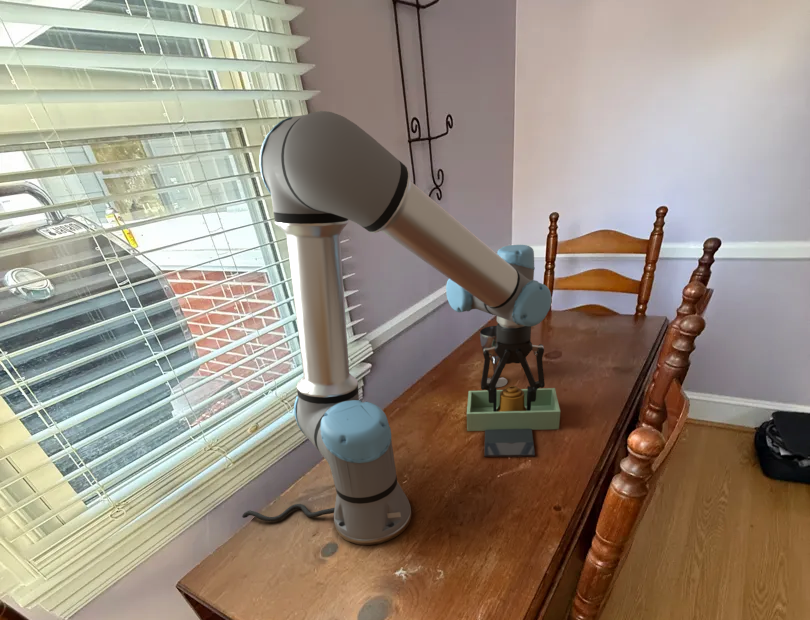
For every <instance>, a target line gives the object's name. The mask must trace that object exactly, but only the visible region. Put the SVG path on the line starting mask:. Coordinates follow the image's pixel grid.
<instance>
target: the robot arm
mask: <svg viewBox="0 0 810 620" xmlns="http://www.w3.org/2000/svg"><path fill="white" fill-rule="evenodd" d="M258 158H259V159H258V161H259V162H258V163H259V171H260V176H261V179H262V182H263V183H264V187H265V188H266V190H267V191H268V193H269V194H270V197H271V204H272V211H273V219H274V224H275V225H276V227H278V228H279V229H280V230H281V231H282V232H283V233H284V235H285V236H286V245H287V253H288V259H289V260H288V261H289V268H290V276H291V285H292V293H293V294H292V295H293V300H294V310H295V316H296V326H297V333H298V341H299V350H300V357H301V366H302V375H303V376H302V377H301V378H300V379H299V380H298V381H297V384H296V393H297V395H296V398H295V400H294V403H293V415H294V419H295V422H296V424H297V426H298V428H299V430H300V431H301V433H302V434H303V435H304V436H305V437H306V438H307V439H308V440H309V442H311V444H312V445H313V446H314V448H316V450H317V451H318V452H319V453H320V454H321V456H322V457H323V459H325V461H326V462H327V464H328V466H329V468H330V471H331V475H332V480H333V484H334V487H335V491H336V497H335V503H334V507H329V508H326V509H320V510H317V511H313V512H311V511H310V510H308V507H307V506H306V505H305V504H302V503H295V504H292V505H291V506H289V507H287V508H286V509H285V510H284V511H283V512H281V513H280V514H277V515H275V516H266V515H264V514H261V513H260V512H258V511H255V510H251V509H250V510H247V511H245V512H244V513H243V514H242V516H241V517H242V518H243V519H245V518H248V517H249V516H252V517H255V518H257V519H259V520H261V521H264V522H268V523H273V522H279V521H281V520H283V519H284V518H285V517H287V516H288V515H289V514H290V513H291V512H293V511H294V510H298V509H299V510H301V511H302V512H303V513H304V515H305V516H306V517H308V518H317V517H320V516H325V515H330V514H333V523H334V527H335V531H336V533H338V535H339V537H341V538H342V539H343V540H345V541H347V542H350V543H351V544H355V545H360V546H361V545H363V546H370V545H379V544H382V543H386V542H388V541H391V540H393V539H394V538H396V537H398V536H399V535H401V534H402V533H403V532H404V531H405V530H406V529H407V528H408V526H409V524H410V522H411V520H412V508H411V503H410V501H409V498H408V497H407V495H406V493H405V492H404V489H403V488H402V487H401V485H400V483H399V481H398V475H397V469H396V462H395V455H394V447H393V442H392V441H393V440H392V431H391V426H390V424H389V420H388V417H387V415H386V413H385V411H384V410H383V409H382V408H381V407H380V406H379V405H377V404H375V403H373V402H370V401H364V402H363V401H362V399H361V400H360V393H359V381H358V379H357V378H356V377H355V376H354V375H352V374H351V373H350V365H349V362H350V361H349V348H348V335H347V321H346V303H345V291H344V276H343V261H342V259H343V258H342V246H341V233H342V231H343V230H344V229H345V228H346V226H347V225H348V224H349V221H351V222H353V223H355V224H357V225H359V226H360V227H362V228H363V229H365V230H366V231H368V232H369V233H371V234H376V233H379V232H382V233H383V234H385V235H386V236H388V237H389V238H390V239H392V240H393V241H395V242H396V243H398V244H399V245H400V246H402V247H404V248H405V249H406V250H407V251H408V252H410V253H412V254H413V255H414V256H416V257H418V259H420V260H422V261H423V262H425V263H426V264H427V265H429V266H430V267H432V268H433V269H435V270H436V271H437V272H439V273H440V274H442V275H443V276H444V277H446V278H448V279H447V282H446V284H445V285H446V286H445V291H446V293H445V294H446V299H447V302H448V305H449V306H450V308H451V309H452V310H453V311H454V312H456V313H464V312H470V311H471V310H477V311H480V312H483V313H487V314H489V315H493V316H496V323H497V324H496V326H497V342H496V344H495V347H491V348H488V347H485V348H484V349H483V350H482V354H483V359H484V361H483V368H482V373H481V374H482V376H481V382H480V389H481V390H487V391H488V392H489V403H493V412H496V405H497V390H498V389H497V388H498V387H497V388H496V387H495V386H496V384H497V382H498V379H499V377H501V375H502V373H503V370H504V369H505V367H506V365H510V364H520V365H521V368H522V370H523V372H524V374H525V377H526V379H527V382H528V384H529V385H528V386H527V389H528V390H527V411H531V402H535V400H536V391H537V389H540V388H545V386H546V385H545V383H546V382H545V373H544V364H543V356H544V353H545V347H544V345H543V344H542V343H540V344H538V345H536V344H533V343H532V341H531V338H532V327H534V326H537V325H539V324H540V323H542V322H543V321H544V320H545V318H546V316H547V315H548V313H549V312H550V309H551V306H552V293H551V290H550V289H549V287H548V286H547V285H546V284H544V283H541V282H539V281H538V280H535V279H534V278H535V251H534V248H533V247H531V246H530V245H527V244H512V245H504V246H502V247H501V248H499V249H498V250H497V252H496V251H494V250H493V249H492V248H491V247H490V246H489V245H487V244H486V243H485V242H484V241H483V240H482V239H480V238H479V237H477V236H476V235H475V234H474V233H473V232H472V231H470V230H469V228H467V227H466V226H465V225H464V224H462V223H461V222H460V221H459V220H458V219H456V218H455V217H454V216H453V215H452V214H451V213H450V212H448V211H447V210H445V209H444V207H442V206H441V205H440V204H438V203H437V202H436V201H435V200H434V199H433V198H431V197H430V196H429V195H428V194H427V193H426V192H424V191H423V190H422V189H421V188H419V187H418V186H417V185H416V184H415V183H414V182H412V181H411V174H410V170H409V167H407V166H406V165H405V164H404V163H403V161H400V159H398V158H397V157H396V156H395V155H393V153H391V152H390V151H389V150H388V149H387V148H386V147H385V146H383V145H382V144H381V143H379V141H378V140H376V139H375V138H374V137H373V136H372V135H370V134H369V133H368V132H366V131H365V130H364V129H362V128H361V127H360V126H359V125H358V124H356V123H355V122H353V121H352V120H350V119H348V118H347V117H345V116H343V115H341V114H339V113H335V112H332V111H326V110H319V111H313V112H309V113H307V114H303V115H301V114H300V115H297V116H288V117H287V118H284V119H282V120H281V121H279V122H278V123H276V124H275V125H274V126H273V127H272V128H271V129H270V130H269V131H268V132H267V134H266V136H265V137H264V139H263V141H262V144H261V147H260V150H259V156H258ZM494 352H496V354H497V355H498V356H499V357H500V359H499V361H498V364H497V367H496V369H495V372H494V371H493V374H492V376H491V377H492V378H491V381H490V383H487V378H489V370H490V364H491V360H490V358H492V357H493V353H494ZM531 352H533V355H534V356H535V359H536V361H535V362H536V367H537V368H536V369H537V370H536V371H537V379H538V380H535V378H534V374H533V372H532V370H531V368H530V365H529V363H528V359H527V357H528V356H529V354H530V353H531Z"/></svg>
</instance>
